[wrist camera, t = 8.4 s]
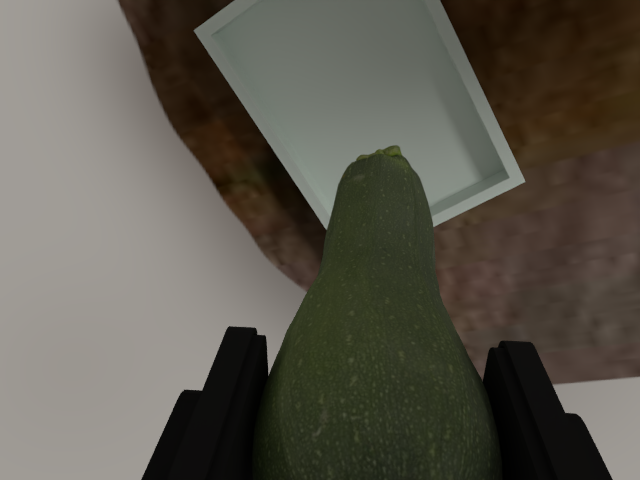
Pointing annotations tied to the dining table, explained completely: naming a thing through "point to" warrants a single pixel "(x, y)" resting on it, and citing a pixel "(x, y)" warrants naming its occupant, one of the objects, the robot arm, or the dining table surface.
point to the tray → (363, 95)
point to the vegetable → (375, 352)
